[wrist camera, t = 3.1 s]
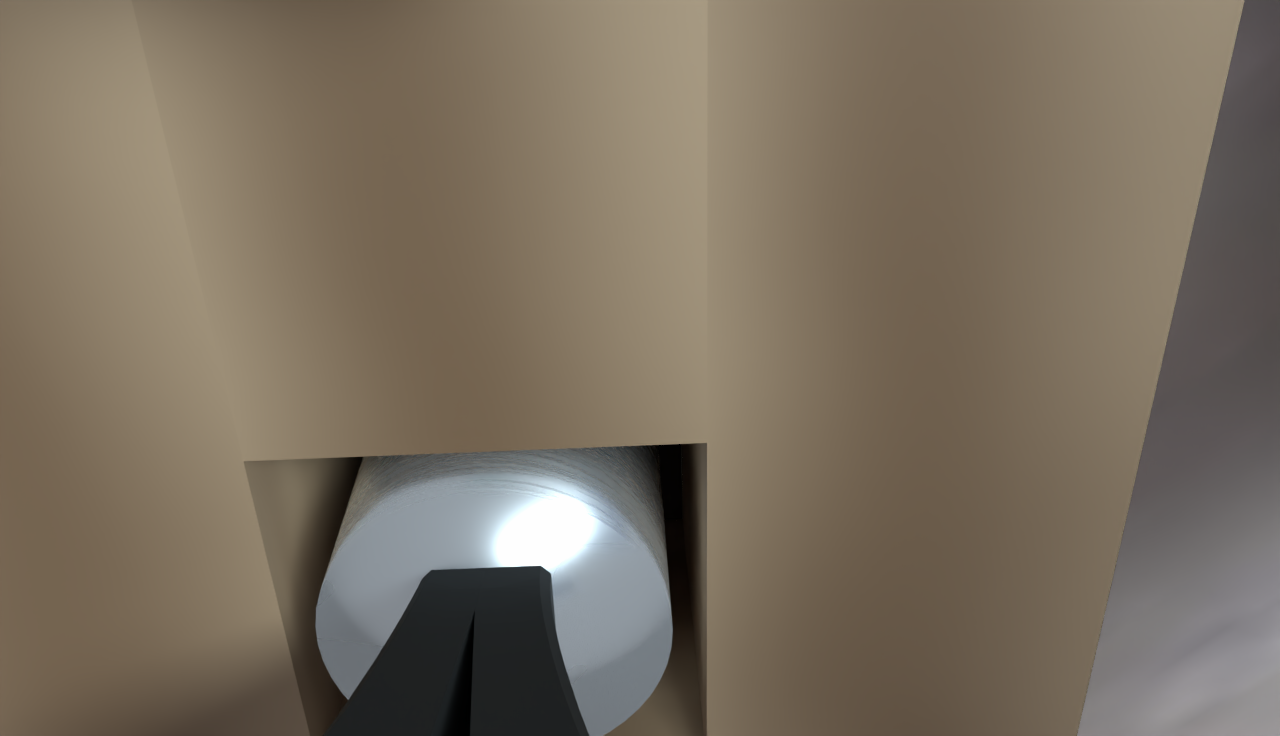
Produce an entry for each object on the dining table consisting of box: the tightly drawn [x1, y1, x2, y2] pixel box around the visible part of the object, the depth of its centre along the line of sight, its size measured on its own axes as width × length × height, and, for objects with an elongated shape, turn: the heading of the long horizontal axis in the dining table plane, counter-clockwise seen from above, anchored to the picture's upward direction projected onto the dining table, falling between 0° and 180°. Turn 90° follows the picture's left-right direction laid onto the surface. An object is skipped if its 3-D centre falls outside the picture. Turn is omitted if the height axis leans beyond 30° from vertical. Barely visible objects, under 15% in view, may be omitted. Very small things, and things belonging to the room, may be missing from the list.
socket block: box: [0, 0, 1245, 736], centre depth 12 cm, size 14×22×5 cm, turn 2°
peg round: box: [315, 445, 673, 736], centre depth 15 cm, size 4×4×5 cm
